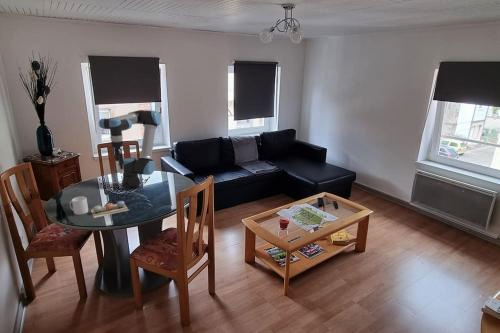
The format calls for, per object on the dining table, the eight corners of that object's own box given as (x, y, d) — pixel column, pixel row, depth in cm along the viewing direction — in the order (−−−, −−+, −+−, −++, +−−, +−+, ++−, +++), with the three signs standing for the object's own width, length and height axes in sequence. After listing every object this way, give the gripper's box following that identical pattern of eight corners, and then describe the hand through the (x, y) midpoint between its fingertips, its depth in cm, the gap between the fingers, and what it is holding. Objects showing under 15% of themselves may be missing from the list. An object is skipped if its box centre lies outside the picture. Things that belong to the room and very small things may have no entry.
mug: (75, 209, 215) (73, 195, 212) (91, 211, 213) (89, 196, 210) (66, 215, 207) (64, 200, 204) (83, 216, 205) (80, 201, 202)
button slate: (116, 206, 218) (116, 201, 217) (123, 205, 221) (123, 200, 219) (118, 209, 214) (117, 204, 213) (125, 207, 217) (124, 202, 216)
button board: (90, 211, 214) (90, 209, 213) (123, 204, 226) (123, 202, 225) (94, 219, 202) (94, 217, 201) (129, 211, 214) (129, 210, 213)
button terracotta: (105, 209, 214) (104, 204, 213) (112, 207, 216) (112, 202, 215) (106, 211, 210) (106, 206, 209) (114, 210, 213) (113, 205, 212)
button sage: (93, 211, 210) (92, 206, 209) (101, 209, 212) (100, 204, 211) (94, 214, 206) (93, 209, 205) (102, 212, 209) (101, 207, 207)
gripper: (108, 138, 223) (111, 168, 230) (114, 144, 206) (118, 176, 213) (118, 137, 227) (122, 166, 234) (126, 143, 210) (129, 174, 217)
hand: (120, 171), depth 223 cm, fingers open, 9 cm apart
